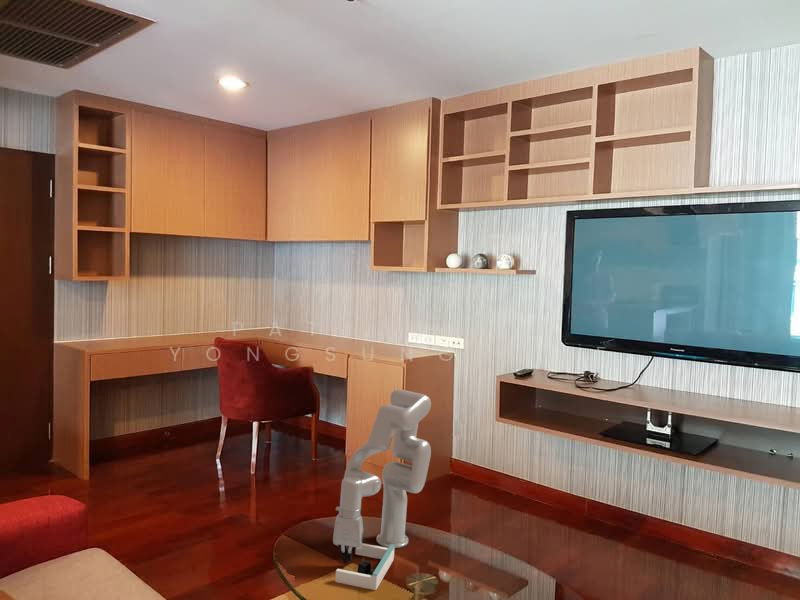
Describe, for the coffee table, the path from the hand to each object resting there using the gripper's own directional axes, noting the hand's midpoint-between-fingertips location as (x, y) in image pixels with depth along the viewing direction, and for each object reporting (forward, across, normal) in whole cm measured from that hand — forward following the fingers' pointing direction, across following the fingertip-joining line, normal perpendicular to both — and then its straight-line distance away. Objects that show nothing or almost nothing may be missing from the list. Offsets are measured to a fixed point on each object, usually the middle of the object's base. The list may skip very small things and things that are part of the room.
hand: (346, 562), depth 222 cm
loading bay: (+2, +8, 0) cm, 8 cm away
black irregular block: (+3, +7, -3) cm, 8 cm away
